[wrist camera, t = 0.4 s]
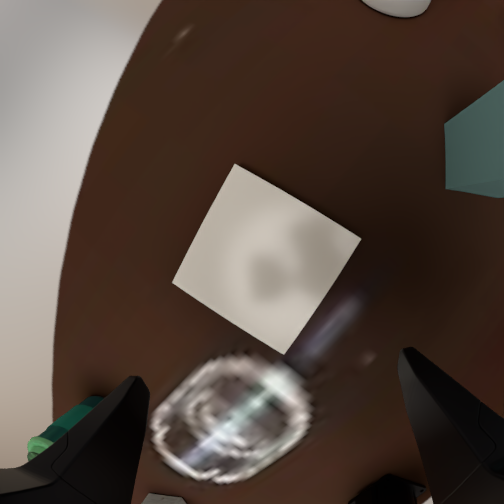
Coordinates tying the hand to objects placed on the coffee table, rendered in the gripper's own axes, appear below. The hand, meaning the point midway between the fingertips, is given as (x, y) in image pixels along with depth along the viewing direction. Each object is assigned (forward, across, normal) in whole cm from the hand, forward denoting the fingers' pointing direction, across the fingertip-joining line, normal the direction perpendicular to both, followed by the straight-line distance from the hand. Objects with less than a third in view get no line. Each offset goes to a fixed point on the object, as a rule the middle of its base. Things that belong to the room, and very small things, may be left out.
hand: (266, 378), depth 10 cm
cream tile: (+13, +1, +2) cm, 14 cm away
